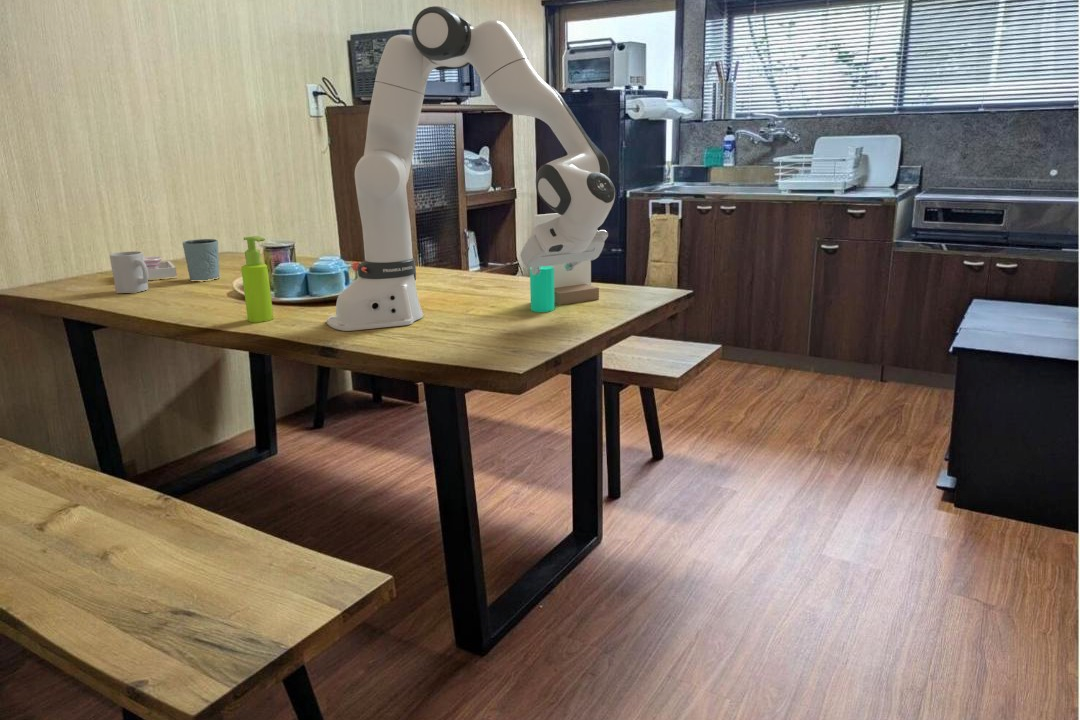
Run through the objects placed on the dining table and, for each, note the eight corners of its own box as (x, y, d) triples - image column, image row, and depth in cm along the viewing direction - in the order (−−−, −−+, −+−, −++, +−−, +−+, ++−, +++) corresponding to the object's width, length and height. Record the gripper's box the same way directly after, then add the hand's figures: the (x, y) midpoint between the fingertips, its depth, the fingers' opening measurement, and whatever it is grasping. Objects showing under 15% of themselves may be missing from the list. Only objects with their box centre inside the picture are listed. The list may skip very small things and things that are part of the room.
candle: (552, 312, 190) (551, 263, 187) (528, 311, 191) (527, 263, 188) (556, 306, 196) (556, 259, 192) (533, 306, 197) (532, 259, 194)
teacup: (151, 273, 257) (148, 254, 255) (180, 275, 253) (177, 256, 251) (121, 280, 246) (118, 260, 244) (150, 282, 242) (147, 262, 240)
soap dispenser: (261, 323, 185) (251, 239, 179) (242, 320, 188) (231, 237, 183) (281, 318, 190) (271, 236, 184) (262, 315, 193) (252, 234, 187)
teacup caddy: (121, 284, 239) (119, 272, 238) (118, 276, 252) (116, 265, 251) (177, 278, 246) (175, 267, 245) (171, 271, 259) (169, 260, 258)
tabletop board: (553, 306, 197) (551, 217, 191) (536, 300, 204) (534, 215, 197) (605, 298, 205) (605, 213, 198) (587, 293, 211) (587, 210, 205)
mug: (109, 292, 226) (102, 254, 223) (136, 287, 233) (129, 250, 230) (136, 296, 220) (130, 257, 217) (163, 290, 228) (157, 252, 224)
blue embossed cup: (204, 276, 249) (199, 238, 246) (230, 277, 246) (225, 239, 242) (180, 282, 240) (174, 242, 237) (207, 283, 237) (201, 243, 233)
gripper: (605, 219, 182) (582, 255, 193) (529, 226, 172) (509, 264, 183) (616, 240, 180) (592, 276, 191) (540, 248, 170) (519, 286, 181)
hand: (551, 270), depth 187 cm, fingers open, 8 cm apart
